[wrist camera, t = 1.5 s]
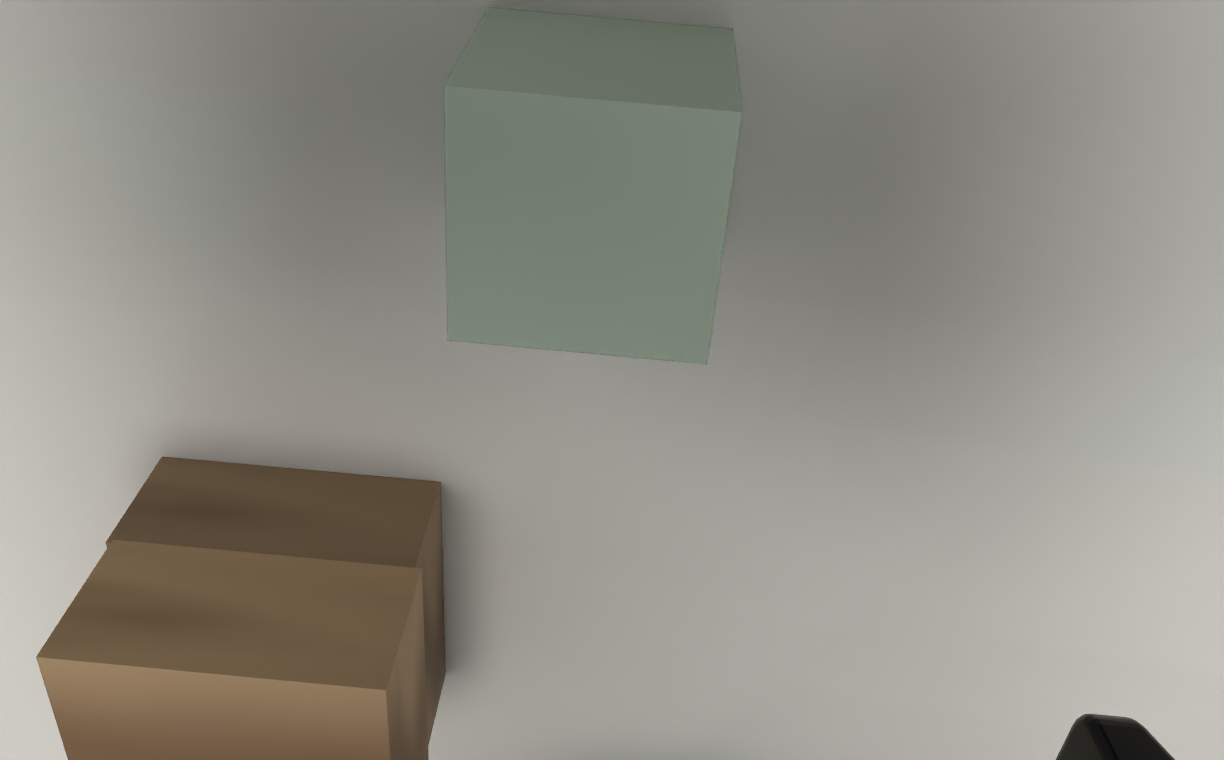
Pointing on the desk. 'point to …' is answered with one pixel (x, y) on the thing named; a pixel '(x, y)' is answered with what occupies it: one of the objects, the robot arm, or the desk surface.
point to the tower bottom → (301, 525)
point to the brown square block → (239, 658)
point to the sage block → (589, 183)
